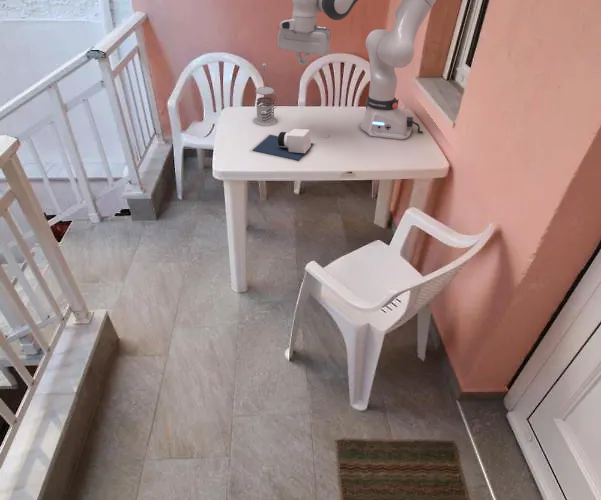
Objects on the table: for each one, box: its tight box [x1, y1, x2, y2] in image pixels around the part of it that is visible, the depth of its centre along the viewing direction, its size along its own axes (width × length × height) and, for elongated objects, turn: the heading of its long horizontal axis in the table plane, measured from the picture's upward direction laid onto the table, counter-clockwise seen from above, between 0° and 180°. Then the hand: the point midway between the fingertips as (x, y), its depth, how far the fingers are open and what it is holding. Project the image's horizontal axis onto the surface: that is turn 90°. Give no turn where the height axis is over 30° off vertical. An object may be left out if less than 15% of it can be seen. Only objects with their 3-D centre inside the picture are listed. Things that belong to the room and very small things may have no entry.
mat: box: [252, 134, 314, 162], centre depth 169 cm, size 20×16×1 cm
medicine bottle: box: [278, 128, 312, 154], centre depth 165 cm, size 7×7×12 cm
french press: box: [254, 62, 280, 126], centre depth 182 cm, size 10×12×25 cm
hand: (302, 64), depth 160 cm, fingers closed
